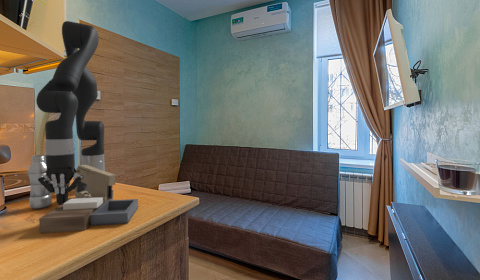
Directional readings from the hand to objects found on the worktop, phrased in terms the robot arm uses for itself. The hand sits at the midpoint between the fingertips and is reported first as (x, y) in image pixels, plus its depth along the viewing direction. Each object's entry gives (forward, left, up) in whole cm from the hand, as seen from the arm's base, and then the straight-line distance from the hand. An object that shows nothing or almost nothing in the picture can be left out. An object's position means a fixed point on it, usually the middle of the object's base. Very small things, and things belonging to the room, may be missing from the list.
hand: (62, 204), depth 77 cm
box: (-1, +16, -6) cm, 17 cm away
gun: (-18, +2, -6) cm, 19 cm away
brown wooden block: (0, +4, -6) cm, 7 cm away
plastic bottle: (-14, -15, -6) cm, 21 cm away
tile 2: (0, +9, -1) cm, 9 cm away
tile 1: (0, +4, -1) cm, 4 cm away
